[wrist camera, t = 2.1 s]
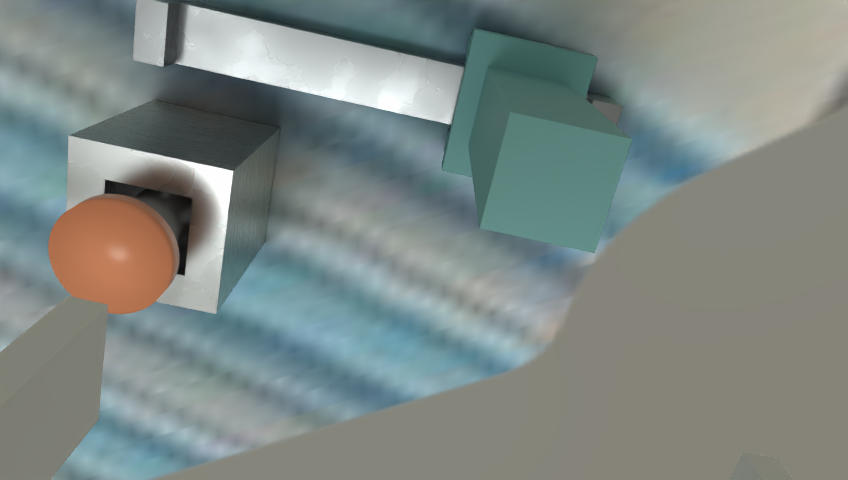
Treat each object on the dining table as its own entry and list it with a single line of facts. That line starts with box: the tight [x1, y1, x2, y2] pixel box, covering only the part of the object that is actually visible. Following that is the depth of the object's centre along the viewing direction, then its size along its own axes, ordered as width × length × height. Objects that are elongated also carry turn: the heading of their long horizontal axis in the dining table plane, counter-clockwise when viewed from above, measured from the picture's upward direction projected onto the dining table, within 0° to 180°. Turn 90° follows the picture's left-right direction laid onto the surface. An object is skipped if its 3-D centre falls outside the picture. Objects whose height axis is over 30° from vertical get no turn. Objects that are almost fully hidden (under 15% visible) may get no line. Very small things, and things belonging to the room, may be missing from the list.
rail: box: [133, 0, 623, 126], centre depth 35 cm, size 3×24×3 cm, turn 78°
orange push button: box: [48, 188, 192, 314], centre depth 30 cm, size 5×5×6 cm
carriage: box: [442, 28, 632, 253], centre depth 29 cm, size 7×6×15 cm
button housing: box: [67, 100, 280, 314], centre depth 34 cm, size 7×7×9 cm
